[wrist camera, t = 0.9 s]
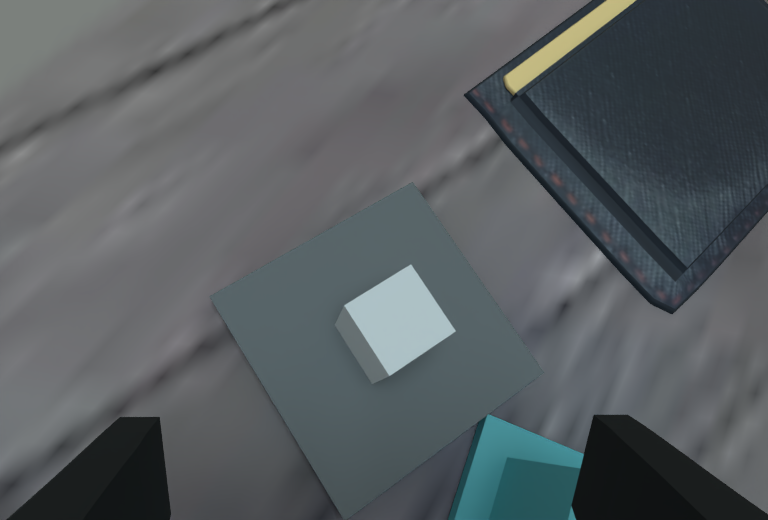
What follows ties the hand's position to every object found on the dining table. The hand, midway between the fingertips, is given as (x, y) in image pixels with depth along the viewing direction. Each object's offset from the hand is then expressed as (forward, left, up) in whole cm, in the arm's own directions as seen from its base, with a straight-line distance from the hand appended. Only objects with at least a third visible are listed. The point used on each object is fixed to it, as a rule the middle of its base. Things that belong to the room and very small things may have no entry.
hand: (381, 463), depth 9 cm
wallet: (+4, -25, -15) cm, 29 cm away
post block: (+2, -4, -14) cm, 15 cm away
